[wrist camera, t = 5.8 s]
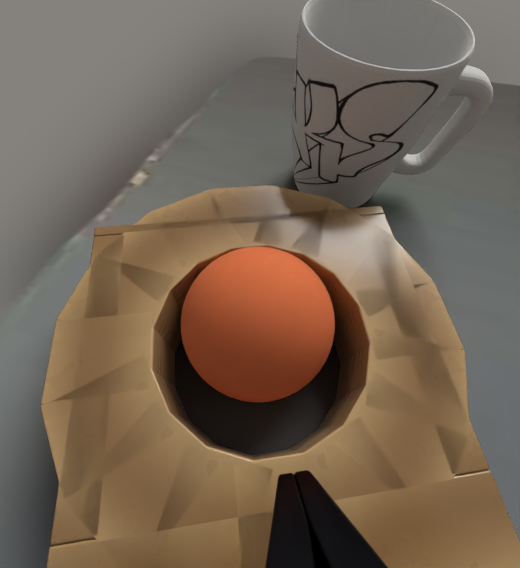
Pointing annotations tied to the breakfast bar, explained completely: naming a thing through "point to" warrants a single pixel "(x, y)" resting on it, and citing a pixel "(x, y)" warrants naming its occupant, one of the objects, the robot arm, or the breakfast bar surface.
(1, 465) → the breakfast bar surface
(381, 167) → the mug
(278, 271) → the ball
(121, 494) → the board
